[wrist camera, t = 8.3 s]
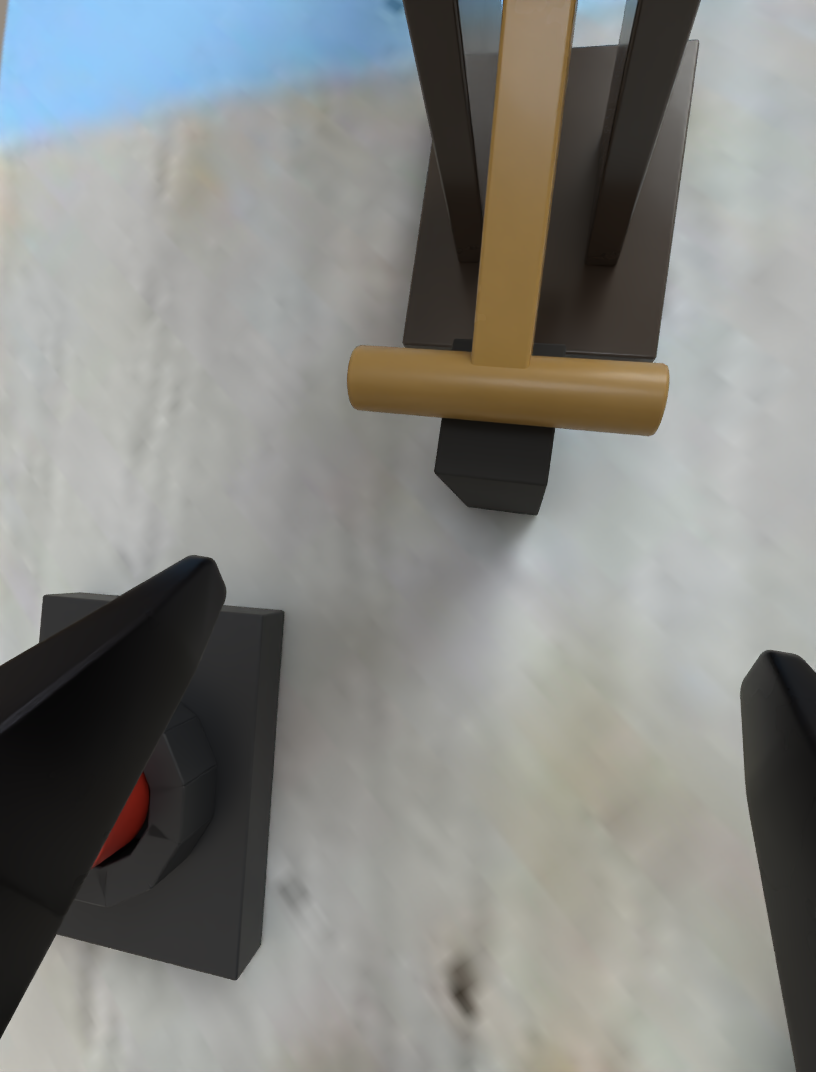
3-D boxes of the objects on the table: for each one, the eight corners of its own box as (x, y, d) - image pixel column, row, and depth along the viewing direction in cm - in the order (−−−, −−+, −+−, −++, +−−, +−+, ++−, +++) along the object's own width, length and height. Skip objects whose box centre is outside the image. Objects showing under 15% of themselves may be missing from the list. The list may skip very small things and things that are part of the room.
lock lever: (642, 427, 11) (664, 447, 9) (373, 403, 12) (335, 416, 10) (813, -385, 7) (924, -699, 5) (392, -294, 9) (337, -513, 6)
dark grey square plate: (261, 945, 19) (203, 1030, 15) (54, 895, 21) (-39, 960, 17) (285, 610, 19) (234, 620, 16) (79, 592, 21) (-5, 597, 18)
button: (145, 859, 17) (102, 894, 15) (50, 840, 17) (-1, 869, 16) (154, 744, 17) (112, 764, 15) (60, 729, 17) (10, 747, 16)
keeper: (537, 515, 18) (546, 486, 11) (466, 506, 18) (432, 473, 11) (550, 427, 18) (567, 343, 11) (478, 421, 18) (452, 337, 11)
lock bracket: (647, 373, 17) (990, -151, 5) (409, 357, 19) (183, -52, 6) (688, 73, 17) (1125, -1217, 5) (448, 85, 19) (306, -834, 6)
